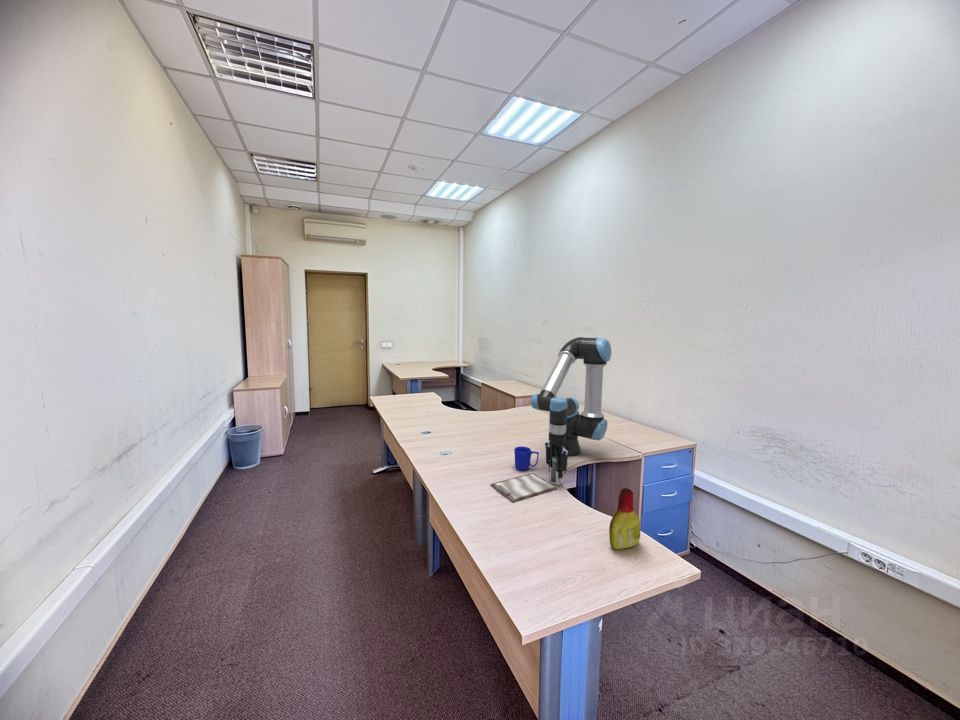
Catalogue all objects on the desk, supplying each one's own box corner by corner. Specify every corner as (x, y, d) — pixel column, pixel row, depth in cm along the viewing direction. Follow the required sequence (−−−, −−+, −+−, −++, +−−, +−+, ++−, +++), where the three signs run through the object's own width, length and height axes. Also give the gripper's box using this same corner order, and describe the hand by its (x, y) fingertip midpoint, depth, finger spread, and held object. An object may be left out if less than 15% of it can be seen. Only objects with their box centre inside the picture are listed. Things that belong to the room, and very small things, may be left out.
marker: (555, 481, 167) (556, 455, 165) (560, 484, 164) (562, 458, 162) (549, 482, 165) (550, 456, 163) (555, 486, 162) (556, 459, 160)
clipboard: (532, 474, 173) (532, 470, 173) (557, 489, 159) (557, 485, 159) (490, 485, 161) (490, 482, 161) (512, 502, 147) (512, 498, 146)
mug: (537, 473, 174) (538, 453, 173) (512, 471, 177) (513, 451, 175) (538, 466, 182) (539, 447, 181) (514, 464, 185) (515, 445, 183)
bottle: (615, 555, 115) (619, 496, 113) (602, 543, 121) (605, 487, 119) (644, 547, 120) (648, 489, 117) (629, 536, 125) (633, 481, 123)
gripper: (538, 428, 167) (537, 477, 169) (564, 439, 152) (561, 492, 155) (551, 426, 170) (549, 473, 173) (577, 436, 156) (574, 488, 159)
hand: (555, 482), depth 164 cm, fingers closed on marker, 3 cm apart
